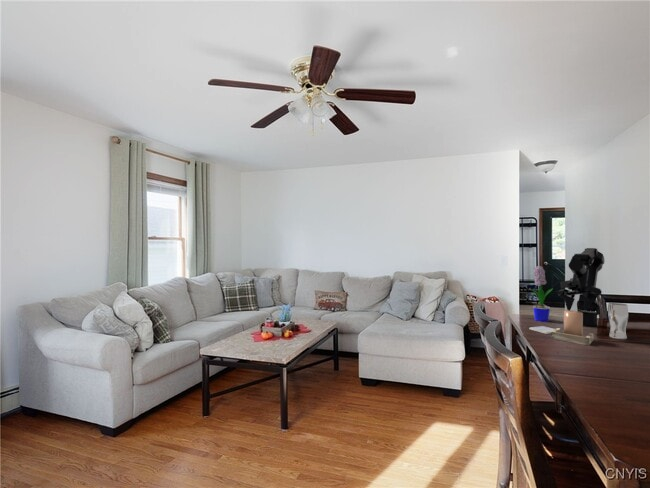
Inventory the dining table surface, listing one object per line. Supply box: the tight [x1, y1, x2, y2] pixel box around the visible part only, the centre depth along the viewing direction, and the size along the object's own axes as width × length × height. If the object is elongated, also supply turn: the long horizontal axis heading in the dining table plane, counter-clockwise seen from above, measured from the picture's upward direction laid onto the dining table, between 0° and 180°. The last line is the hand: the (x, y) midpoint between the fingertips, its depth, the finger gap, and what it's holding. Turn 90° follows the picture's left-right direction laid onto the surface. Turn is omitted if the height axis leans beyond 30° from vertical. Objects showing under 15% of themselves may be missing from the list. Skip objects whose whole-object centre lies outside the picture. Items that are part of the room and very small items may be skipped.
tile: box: [529, 325, 556, 335], centre depth 167 cm, size 9×9×1 cm
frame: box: [550, 327, 595, 346], centre depth 152 cm, size 10×13×3 cm
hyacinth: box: [530, 265, 554, 323], centre depth 187 cm, size 9×10×30 cm
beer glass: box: [607, 302, 629, 340], centre depth 154 cm, size 7×7×15 cm
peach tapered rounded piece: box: [563, 309, 584, 337], centre depth 153 cm, size 7×7×12 cm
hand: (576, 309), depth 160 cm, fingers open, 9 cm apart
